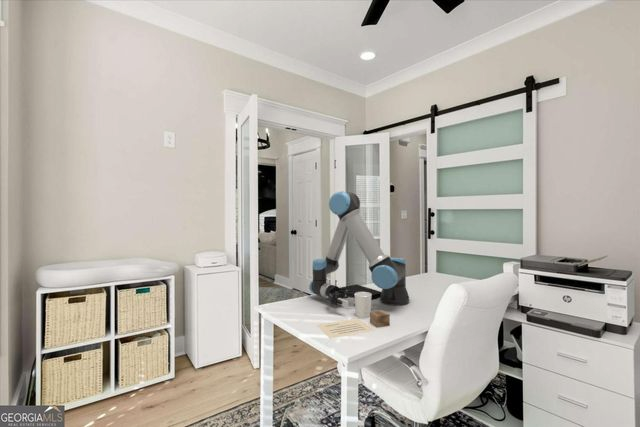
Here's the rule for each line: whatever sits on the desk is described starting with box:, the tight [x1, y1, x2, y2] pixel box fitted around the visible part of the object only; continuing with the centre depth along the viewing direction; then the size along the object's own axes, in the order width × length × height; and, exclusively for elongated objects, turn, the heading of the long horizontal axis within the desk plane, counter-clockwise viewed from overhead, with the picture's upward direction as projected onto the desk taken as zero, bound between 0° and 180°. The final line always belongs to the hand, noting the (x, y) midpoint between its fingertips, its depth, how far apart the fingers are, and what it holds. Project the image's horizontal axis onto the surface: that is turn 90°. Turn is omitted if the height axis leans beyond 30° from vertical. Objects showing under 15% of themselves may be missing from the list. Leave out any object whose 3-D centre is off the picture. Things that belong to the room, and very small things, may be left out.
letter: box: [316, 317, 377, 339], centre depth 129 cm, size 20×15×1 cm
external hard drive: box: [339, 283, 381, 301], centre depth 178 cm, size 14×23×3 cm, turn 34°
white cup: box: [354, 292, 372, 319], centre depth 143 cm, size 8×8×10 cm
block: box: [369, 309, 391, 328], centre depth 132 cm, size 6×6×5 cm
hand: (358, 301), depth 145 cm, fingers open, 13 cm apart
